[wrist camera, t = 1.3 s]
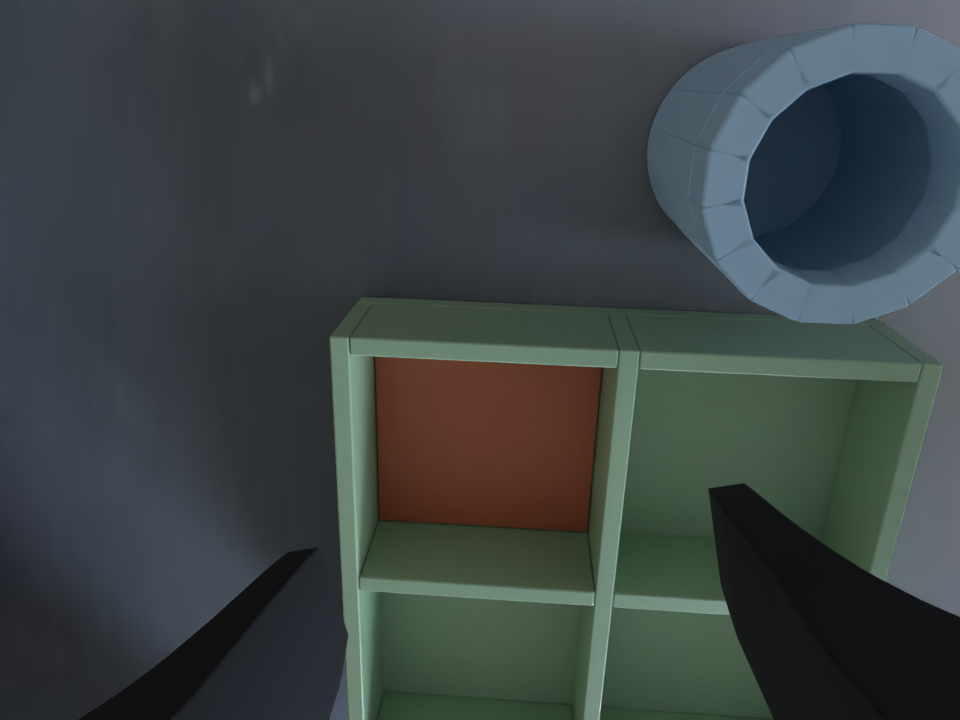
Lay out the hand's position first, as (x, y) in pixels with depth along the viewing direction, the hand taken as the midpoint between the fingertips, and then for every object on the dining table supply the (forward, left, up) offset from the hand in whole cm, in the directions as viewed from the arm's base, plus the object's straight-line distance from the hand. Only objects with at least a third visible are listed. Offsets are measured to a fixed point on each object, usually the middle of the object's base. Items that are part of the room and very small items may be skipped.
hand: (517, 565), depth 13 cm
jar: (-5, -7, -9) cm, 13 cm away
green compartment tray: (-2, +5, -9) cm, 11 cm away
